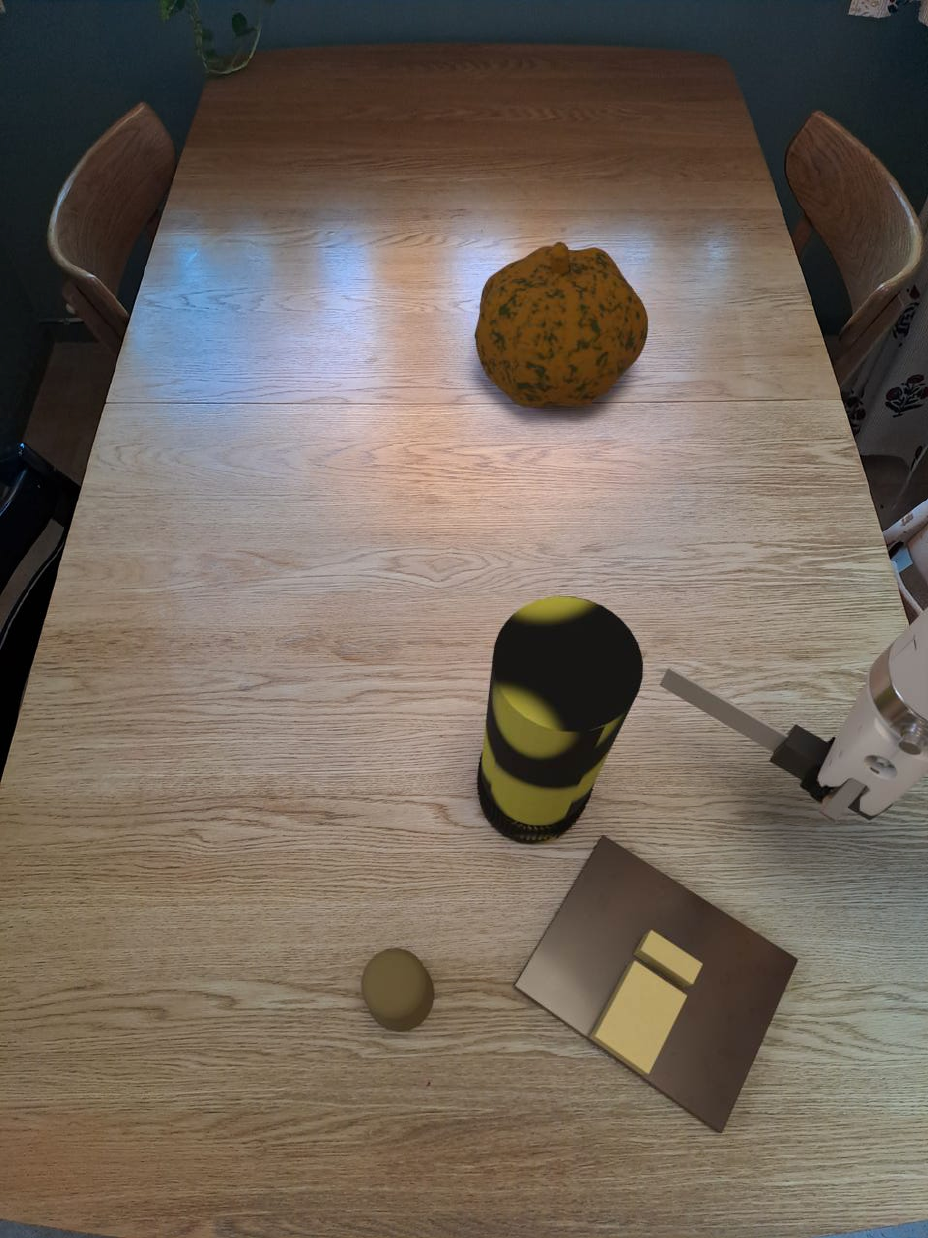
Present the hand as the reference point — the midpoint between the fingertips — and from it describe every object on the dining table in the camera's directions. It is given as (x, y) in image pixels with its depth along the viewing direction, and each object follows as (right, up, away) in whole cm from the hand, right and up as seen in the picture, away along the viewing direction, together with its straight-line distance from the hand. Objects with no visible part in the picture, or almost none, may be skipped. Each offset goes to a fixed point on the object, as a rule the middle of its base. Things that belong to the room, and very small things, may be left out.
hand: (825, 779), depth 70 cm
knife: (-4, +2, +2) cm, 5 cm away
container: (-24, -4, +13) cm, 27 cm away
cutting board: (-13, -19, +5) cm, 23 cm away
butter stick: (-16, -21, +2) cm, 26 cm away
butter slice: (-12, -17, +5) cm, 22 cm away
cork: (-36, -20, +4) cm, 41 cm away
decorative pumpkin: (-18, +46, +41) cm, 64 cm away
